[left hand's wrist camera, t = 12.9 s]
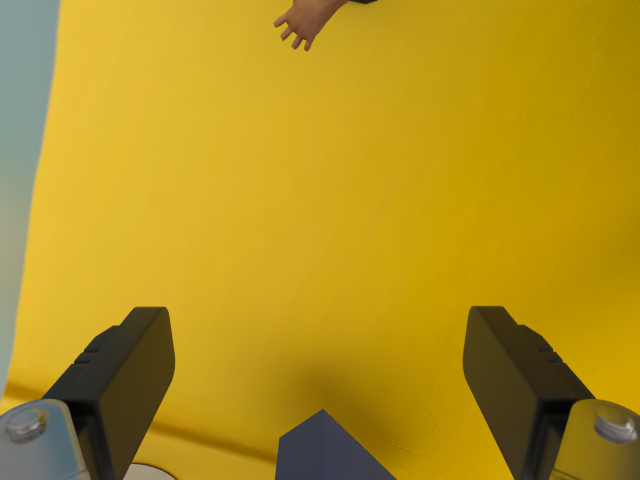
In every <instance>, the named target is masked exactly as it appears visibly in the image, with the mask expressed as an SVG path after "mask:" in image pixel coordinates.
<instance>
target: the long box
mask: <svg viewBox="0 0 640 480" xmlns="http://www.w3.org/2000/svg"><path fill="white" fill-rule="evenodd" d="M275 480H397V479H396V478H395V477H394V476H393V475H392V474H391V473H389V472H388V471H387V470H386V469H385V468H384V467H383V466H382V465H381V464H380V463H379V462H378V461H377V460H376V459H375V458H374V457H373V456H372V455H371V454H370V453H369V452H368V451H367V450H366V449H364V448H363V447H362V446H361V445H360V444H359V443H358V442H357V441H356V440H355V439H354V438H353V437H352V436H351V435H350V434H349V433H348V432H347V431H346V430H345V429H344V428H343V427H342V426H341V425H339V424H338V423H337V422H336V421H335V420H334V419H333V418H332V417H331V416H330V415H329V414H328V413H327V412H326V411H325V410H324V409H322V410H321V411H319V412H318V413H316V414H315V415H313V416H312V417H310V418H309V419H307V420H306V421H304V422H303V423H301V424H300V425H298V426H297V427H295V428H294V429H292V430H291V431H289V432H288V433H286V434H285V435H283V436H282V437H280V438H279V447H278V456H277V465H276V474H275Z"/></svg>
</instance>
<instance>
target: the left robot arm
mask: <svg viewBox="0 0 640 480" xmlns="http://www.w3.org/2000/svg"><path fill="white" fill-rule="evenodd" d="M174 370H175V353H174V346H173V339H172V332H171V325H170V318H169V313H168V310H167V308H166V307H135V308H134V309H133V310H132V311H131V312H130V313H129V315H128V316H127V317H126V318H125V319H124V321H123V322H122V323H121V324H120V326H112V327H110V328H109V329H107V330H106V331H104V332H102V333H101V334H99V335H98V336H96V337H95V338H94V339H93V340H92V341H91V343H90V344H89V345H88V346H87V347H86V348H85V349H84V353H81V354H80V355H79V356H78V357H77V358H76V360H75V361H74V364H71V365H70V366H69V368H68V369H67V370H66V371H65V372H64V373H63V374H62V376H61V377H60V378H59V379H58V380H57V381H56V382H55V384H54V385H53V386H52V387H51V388H50V389H49V390H48V392H47V393H46V394H45V395H44V396H43V397H42V398H41V400H35V401H31V402H28V403H24V404H22V405H19V406H17V407H15V408H13V409H11V410H9V411H7V412H5V413H4V414H2V415H1V416H0V480H123V479H124V477H125V475H126V473H127V471H128V469H129V467H130V465H131V463H132V461H133V458H134V456H135V454H136V452H137V450H138V448H139V446H140V444H141V442H142V440H143V438H144V436H145V434H146V432H147V430H148V428H149V426H150V424H151V422H152V420H153V418H154V416H155V414H156V412H157V410H158V408H159V406H160V404H161V402H162V400H163V398H164V396H165V394H166V392H167V390H168V388H169V386H170V384H171V381H172V379H173V375H174ZM463 370H464V375H465V379H466V381H467V383H468V385H469V387H470V389H471V391H472V393H473V395H474V398H475V400H476V402H477V404H478V406H479V408H480V410H481V412H482V414H483V416H484V418H485V420H486V422H487V424H488V426H489V428H490V430H491V432H492V434H493V436H494V439H495V441H496V443H497V445H498V447H499V449H500V451H501V453H502V455H503V457H504V459H505V461H506V463H507V465H508V467H509V469H510V471H511V473H512V475H513V477H514V480H640V416H639V415H638V414H636V413H635V412H633V411H631V410H629V409H627V408H625V407H623V406H621V405H618V404H616V403H612V402H609V401H605V400H599V399H596V398H595V397H594V396H593V394H592V393H591V392H590V391H589V390H588V389H587V387H586V386H585V385H584V384H583V383H582V382H581V381H580V379H579V378H578V377H577V376H576V375H575V374H574V373H573V371H572V370H571V369H570V368H569V367H568V366H567V364H566V363H563V360H562V359H561V358H560V356H559V355H558V354H557V353H556V352H553V348H552V347H551V346H550V345H549V344H548V343H547V341H546V340H545V339H544V338H543V337H542V336H541V335H539V334H538V333H536V332H535V331H533V330H531V329H530V328H528V327H527V326H525V325H518V324H517V323H516V322H515V321H514V319H513V318H512V317H511V316H510V315H509V313H508V312H507V311H506V310H505V308H504V307H502V306H472V307H471V309H470V311H469V315H468V322H467V329H466V337H465V344H464V351H463Z"/></svg>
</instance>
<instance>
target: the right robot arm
mask: <svg viewBox="0 0 640 480" xmlns="http://www.w3.org/2000/svg"><path fill="white" fill-rule="evenodd" d="M123 480H175V479H174V478H173V477H172V476H170V475H169V474H167V473H165V472H163V471H161V470H159V469H156V468H154V467H150V466H146V465H140V464H131V465H130V467H129V469H128V471H127V473H126V475H125V477H124V479H123Z"/></svg>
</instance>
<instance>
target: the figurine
mask: <svg viewBox="0 0 640 480" xmlns="http://www.w3.org/2000/svg"><path fill="white" fill-rule="evenodd" d="M348 1H353V2H358V3H363V4H367V3H370V2H374V1H377V0H294V1H293V6H292V7H291V8H290V9H289V10H288V11H287V12H286V13H285V14H284V15H282V16H281V17H279V18H278V19H277V20H276V21H275V22H274V26H275V28H276V27H278V26H280V25H282V24H283V23H284V22H285V21H286V22H287V24H288V25H289V27H288V28H287V29H286V30H285V31H284V32H283V33H282V34H281V35H280V37H281V38H282V40H283V41H284V40H285V39H286V38H287V37H288V36H289V35H290V34H291V33H292V32H295V33H296V34H297V37H296V39H295V40H294V42H293V44H292V47H293V48H294V49H296V48H298V47H299V45H300V44H301V42H302V40H303V39H304V40H307V41H306V44H305V47H304V50H306V51H307V52H308V50H309V49H310V47H311V44H312V42H313V40H314V38H315V36H316V35H317V34H318V33H319V32H320V31H321V29H322V28H323V26H324V25H325V24H326V23H327V21H328V20H329V19H330V18H331V17H332V15H333V14H334V13H335V12H336V11H337V10H338V9H339V8H340V7H341V6H343V5H344V4H345V3H347V2H348Z"/></svg>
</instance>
